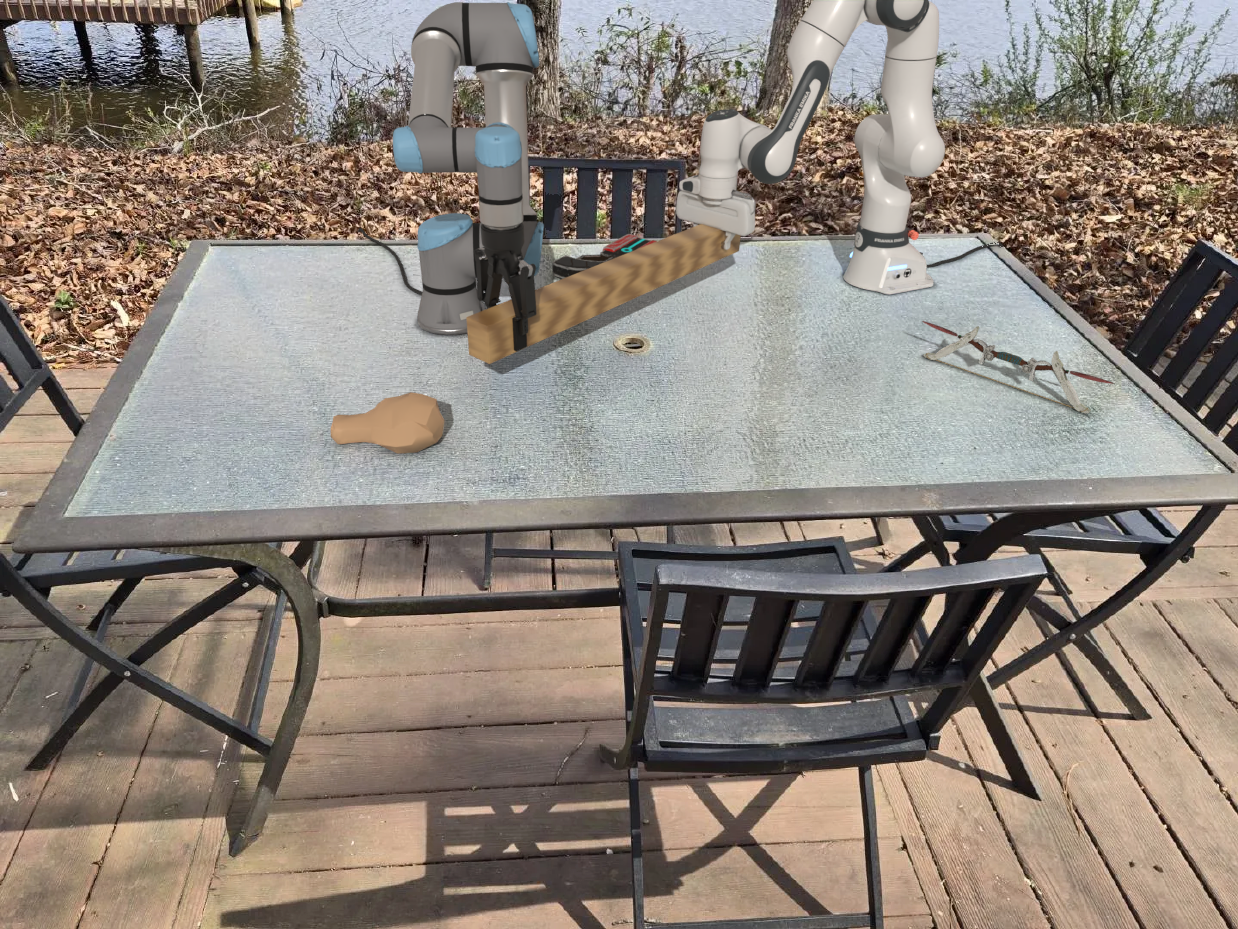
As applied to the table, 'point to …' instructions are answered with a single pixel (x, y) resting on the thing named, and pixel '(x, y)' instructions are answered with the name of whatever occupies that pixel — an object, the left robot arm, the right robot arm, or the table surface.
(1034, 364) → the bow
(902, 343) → the table surface
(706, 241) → the bar
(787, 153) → the right robot arm
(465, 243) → the left robot arm
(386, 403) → the squash
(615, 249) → the gun
